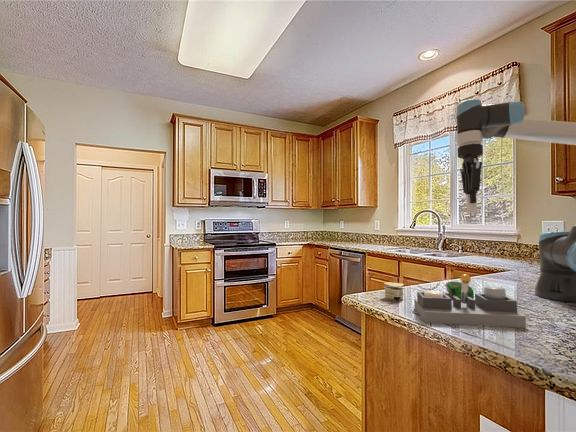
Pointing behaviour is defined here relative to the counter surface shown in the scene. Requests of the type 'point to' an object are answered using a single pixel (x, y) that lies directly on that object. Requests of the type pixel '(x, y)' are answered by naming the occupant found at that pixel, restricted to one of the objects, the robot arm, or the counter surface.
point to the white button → (433, 294)
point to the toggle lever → (464, 287)
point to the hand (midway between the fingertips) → (471, 212)
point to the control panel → (469, 311)
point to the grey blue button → (494, 293)
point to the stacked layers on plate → (393, 290)
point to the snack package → (458, 289)
